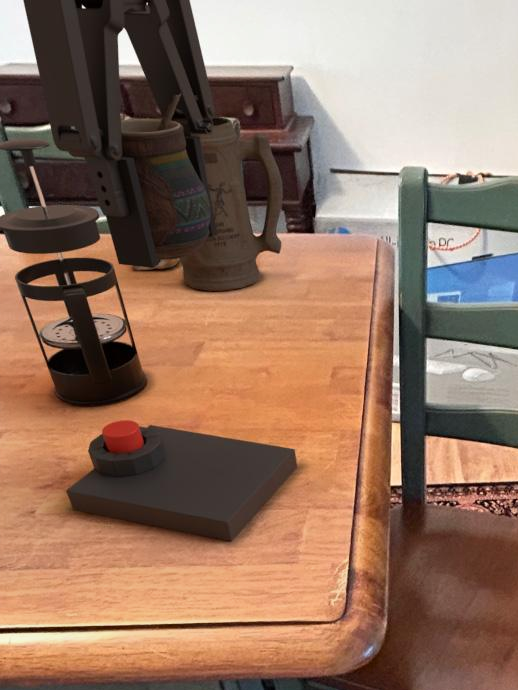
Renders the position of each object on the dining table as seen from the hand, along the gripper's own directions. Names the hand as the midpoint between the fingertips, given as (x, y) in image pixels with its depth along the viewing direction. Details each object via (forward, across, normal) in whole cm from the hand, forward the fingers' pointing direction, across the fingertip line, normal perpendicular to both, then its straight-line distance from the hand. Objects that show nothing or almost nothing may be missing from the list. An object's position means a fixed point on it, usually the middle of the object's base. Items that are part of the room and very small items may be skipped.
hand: (170, 248), depth 54 cm
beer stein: (+19, +49, +25) cm, 58 cm away
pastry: (+19, +51, +40) cm, 68 cm away
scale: (+19, -3, +1) cm, 19 cm away
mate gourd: (0, 0, 0) cm, 1 cm away
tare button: (+16, -3, +7) cm, 18 cm away
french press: (+19, +11, +21) cm, 31 cm away
